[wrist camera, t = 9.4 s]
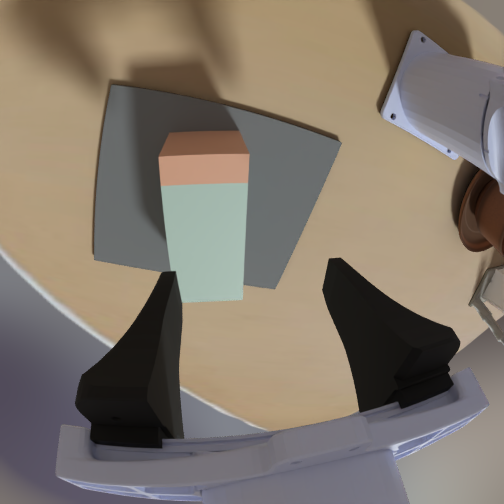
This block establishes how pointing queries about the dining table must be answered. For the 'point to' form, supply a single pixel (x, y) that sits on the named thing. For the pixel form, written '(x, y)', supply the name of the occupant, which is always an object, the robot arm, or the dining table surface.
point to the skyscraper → (491, 298)
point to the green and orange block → (205, 212)
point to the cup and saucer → (482, 215)
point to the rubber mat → (149, 186)
